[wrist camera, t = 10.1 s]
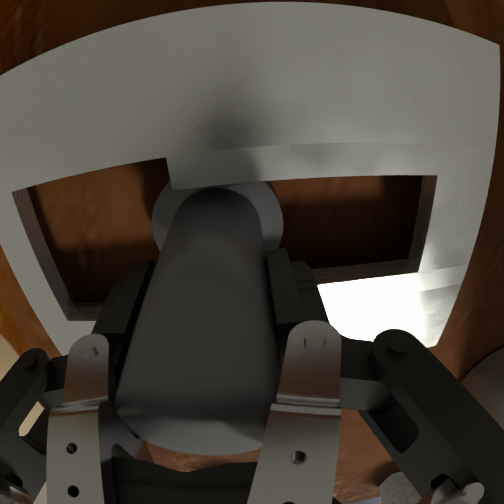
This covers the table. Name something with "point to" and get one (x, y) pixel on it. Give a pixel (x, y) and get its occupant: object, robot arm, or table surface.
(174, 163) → the keyhole plate
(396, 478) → the supplement box
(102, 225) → the table surface
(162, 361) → the headed peg
